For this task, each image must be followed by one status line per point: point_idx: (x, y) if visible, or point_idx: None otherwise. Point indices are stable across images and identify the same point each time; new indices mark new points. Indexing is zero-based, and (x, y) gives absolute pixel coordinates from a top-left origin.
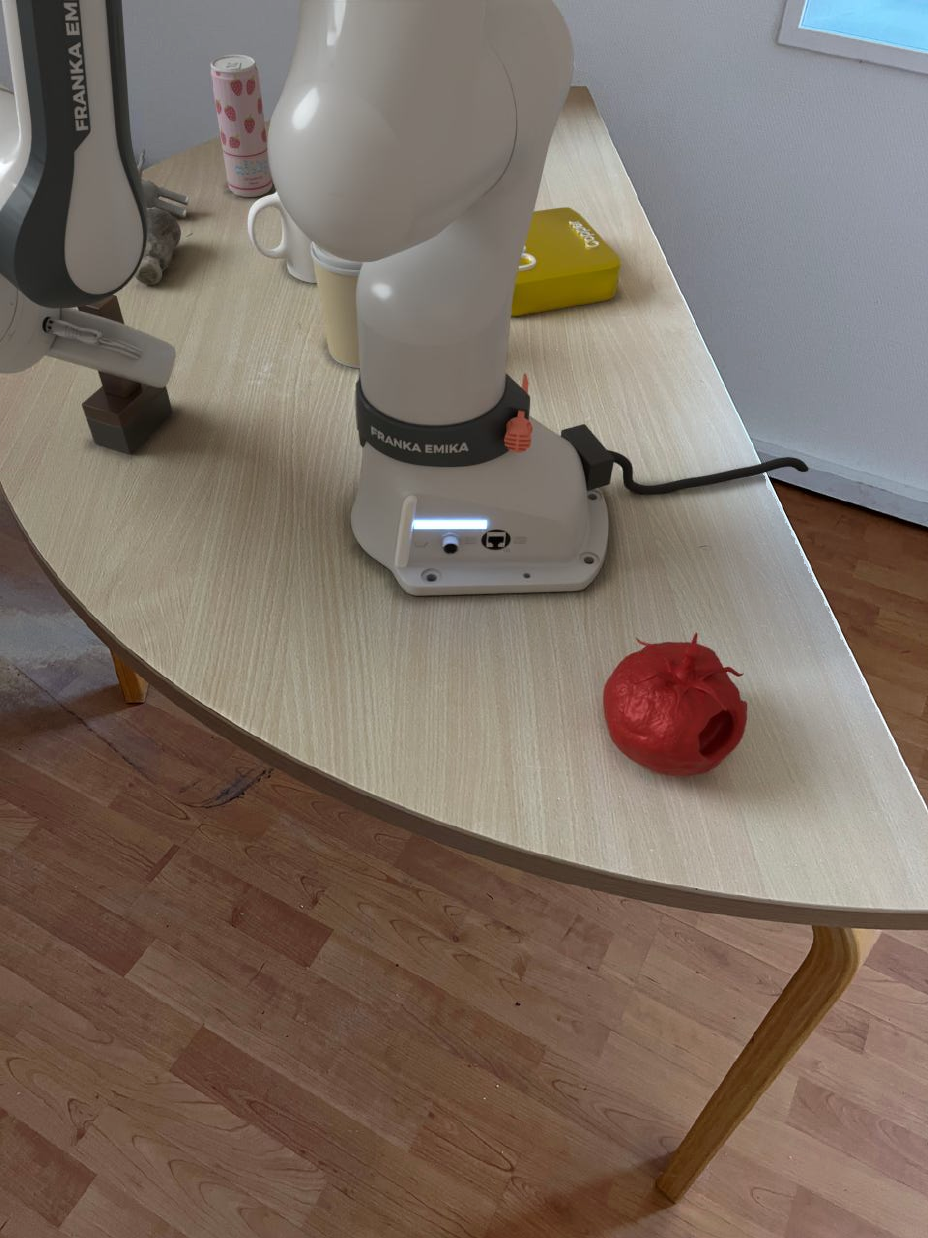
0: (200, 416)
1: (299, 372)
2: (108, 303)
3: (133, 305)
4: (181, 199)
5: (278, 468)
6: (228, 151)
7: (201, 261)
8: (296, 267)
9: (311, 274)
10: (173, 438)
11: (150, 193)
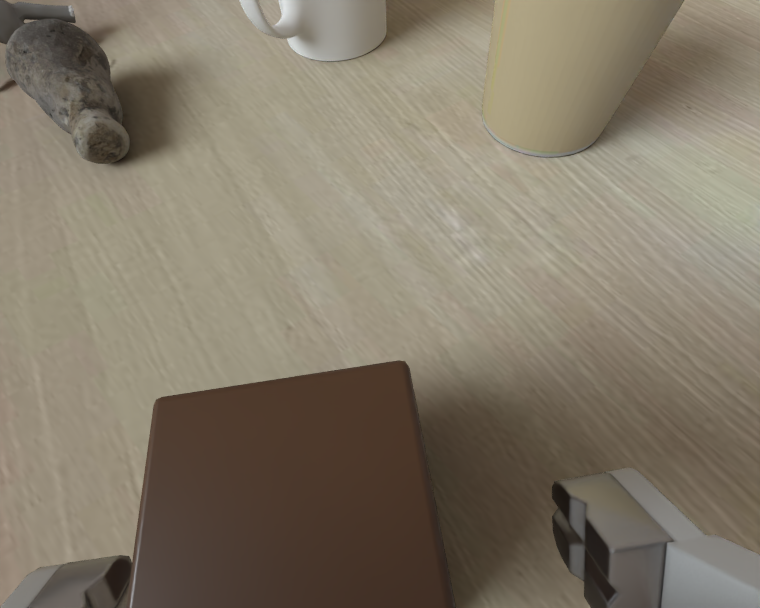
0: (466, 394)
1: (509, 202)
2: (432, 499)
3: (117, 210)
4: (62, 13)
5: (753, 443)
6: None
7: (165, 92)
8: (324, 41)
9: (351, 44)
10: (481, 495)
11: (6, 15)
